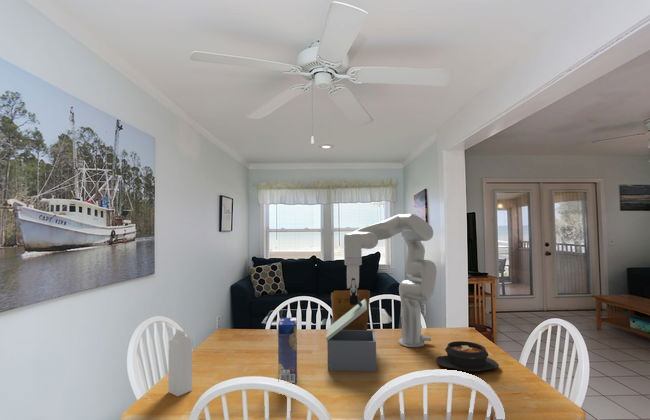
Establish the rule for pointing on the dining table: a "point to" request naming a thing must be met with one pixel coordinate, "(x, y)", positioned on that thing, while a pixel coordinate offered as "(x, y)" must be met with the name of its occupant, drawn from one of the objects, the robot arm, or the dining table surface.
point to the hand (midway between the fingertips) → (353, 302)
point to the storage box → (352, 351)
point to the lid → (346, 318)
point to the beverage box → (287, 349)
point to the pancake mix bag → (349, 308)
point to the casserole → (466, 357)
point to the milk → (180, 364)
